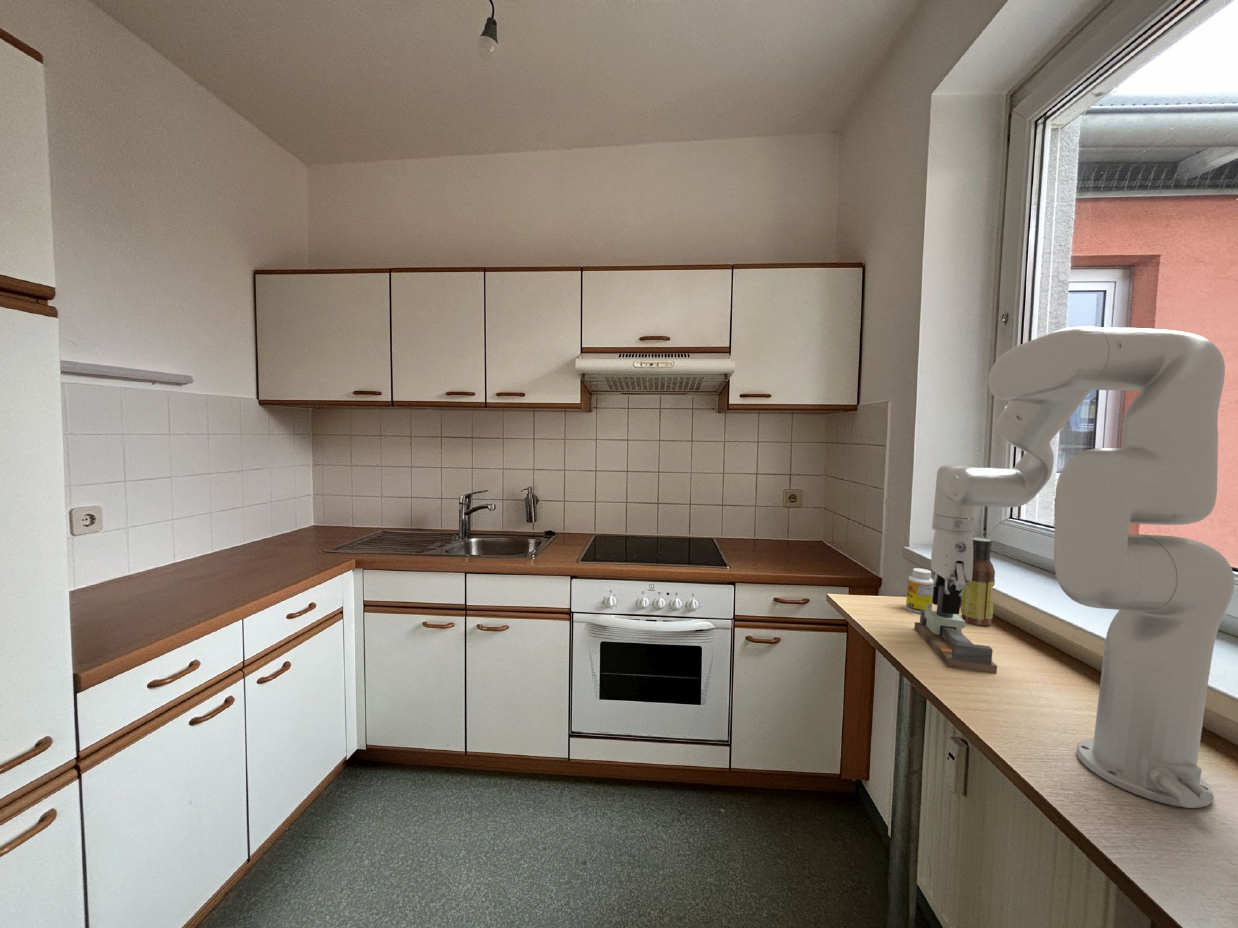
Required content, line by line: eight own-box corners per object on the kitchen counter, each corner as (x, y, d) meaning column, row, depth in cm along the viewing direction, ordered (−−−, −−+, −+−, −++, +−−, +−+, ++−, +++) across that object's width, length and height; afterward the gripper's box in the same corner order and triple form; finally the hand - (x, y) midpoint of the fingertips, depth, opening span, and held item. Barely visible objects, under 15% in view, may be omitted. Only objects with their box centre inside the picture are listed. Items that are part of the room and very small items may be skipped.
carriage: (963, 637, 110) (967, 592, 109) (931, 633, 111) (935, 589, 111) (954, 628, 115) (958, 585, 114) (923, 625, 116) (927, 582, 116)
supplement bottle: (904, 605, 135) (907, 565, 134) (928, 608, 133) (932, 568, 132) (907, 612, 130) (911, 571, 129) (933, 616, 128) (937, 574, 127)
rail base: (996, 673, 98) (998, 649, 98) (948, 667, 100) (950, 644, 99) (953, 633, 117) (955, 613, 117) (914, 628, 119) (916, 608, 119)
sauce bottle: (982, 618, 128) (990, 537, 127) (997, 628, 122) (1006, 542, 120) (953, 616, 129) (961, 535, 127) (967, 625, 122) (976, 540, 121)
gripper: (991, 533, 102) (982, 625, 104) (957, 519, 119) (949, 598, 120) (948, 530, 104) (940, 620, 105) (920, 516, 120) (913, 594, 122)
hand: (945, 608), depth 113 cm, fingers open, 4 cm apart
